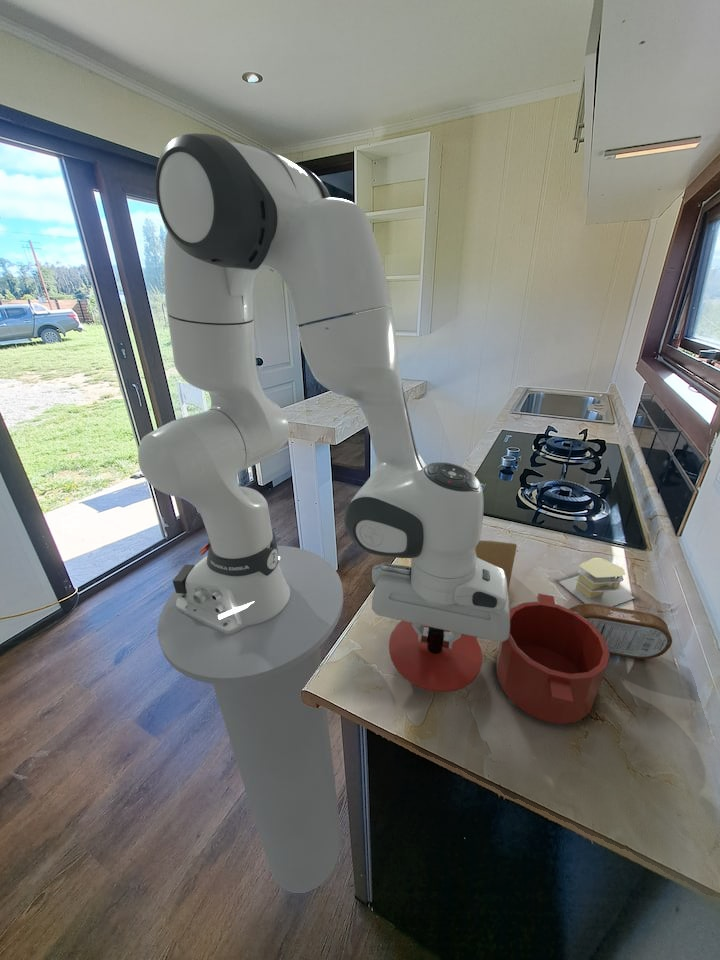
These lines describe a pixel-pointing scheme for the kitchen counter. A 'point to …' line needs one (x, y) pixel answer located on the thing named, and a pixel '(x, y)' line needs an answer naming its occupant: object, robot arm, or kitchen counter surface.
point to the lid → (434, 659)
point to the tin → (628, 630)
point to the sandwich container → (498, 555)
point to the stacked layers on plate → (598, 583)
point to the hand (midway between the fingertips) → (435, 642)
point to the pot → (551, 661)
